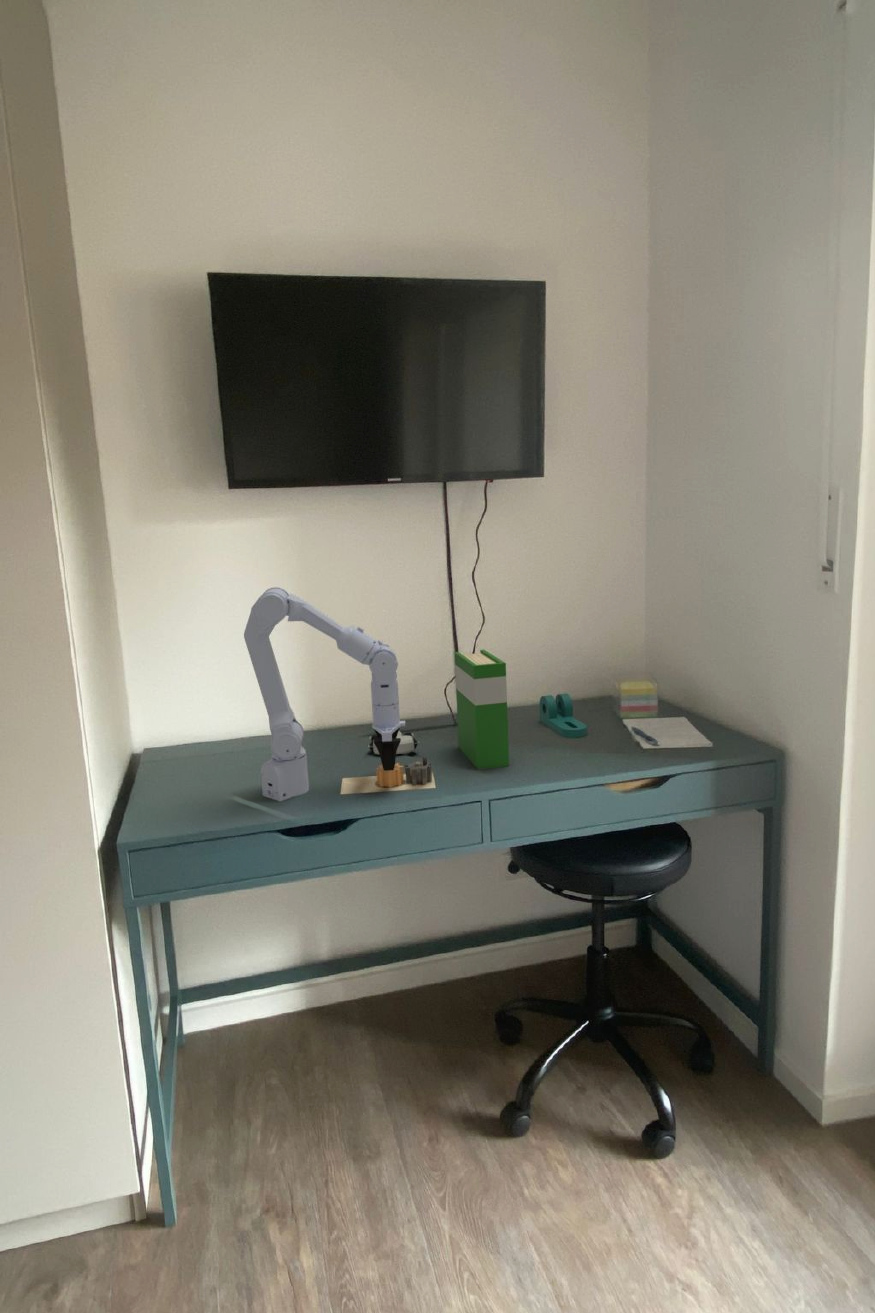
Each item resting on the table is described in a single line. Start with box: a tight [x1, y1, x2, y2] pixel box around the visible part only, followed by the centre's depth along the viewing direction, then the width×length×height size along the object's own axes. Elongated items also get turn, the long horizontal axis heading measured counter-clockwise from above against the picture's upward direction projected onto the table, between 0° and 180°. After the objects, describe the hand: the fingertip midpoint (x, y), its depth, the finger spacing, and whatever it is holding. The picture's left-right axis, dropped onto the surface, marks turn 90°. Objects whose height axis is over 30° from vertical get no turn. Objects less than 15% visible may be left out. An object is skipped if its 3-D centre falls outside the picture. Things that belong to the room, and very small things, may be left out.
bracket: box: [539, 692, 588, 739], centre depth 213 cm, size 18×7×8 cm, turn 14°
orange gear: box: [375, 762, 404, 787], centre depth 176 cm, size 6×6×4 cm
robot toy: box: [367, 730, 420, 756], centre depth 201 cm, size 12×4×15 cm
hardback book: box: [454, 649, 510, 771], centre depth 192 cm, size 18×7×24 cm, turn 13°
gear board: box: [340, 756, 437, 795], centre depth 176 cm, size 20×10×6 cm, turn 94°
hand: (388, 764), depth 176 cm, fingers open, 7 cm apart
